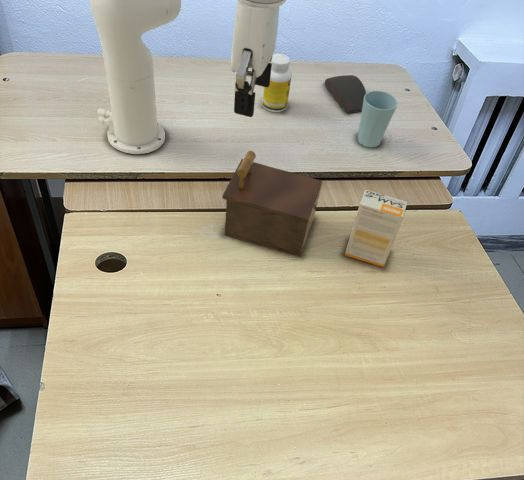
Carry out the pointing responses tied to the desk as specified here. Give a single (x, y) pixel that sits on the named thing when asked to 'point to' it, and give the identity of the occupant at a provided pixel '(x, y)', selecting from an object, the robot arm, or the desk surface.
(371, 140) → the cup
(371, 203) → the supplement box
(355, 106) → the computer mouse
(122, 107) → the robot arm
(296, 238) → the chest
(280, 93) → the pill bottle
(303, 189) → the lid
